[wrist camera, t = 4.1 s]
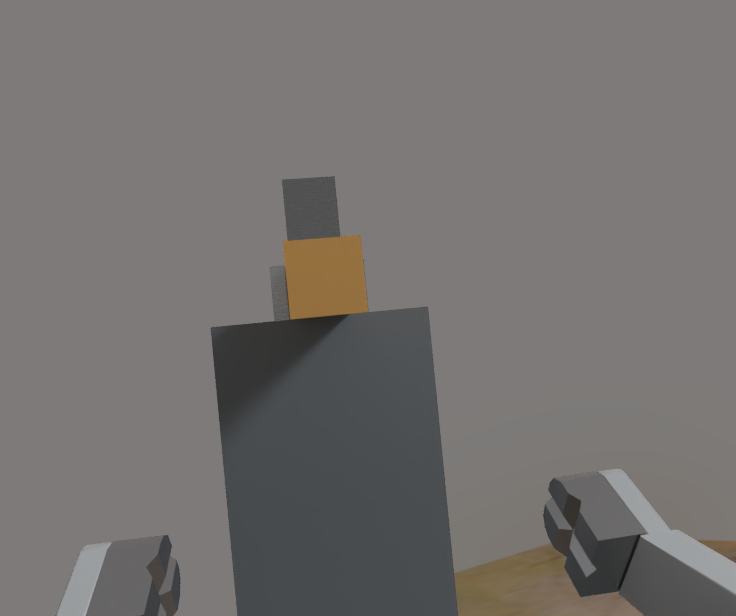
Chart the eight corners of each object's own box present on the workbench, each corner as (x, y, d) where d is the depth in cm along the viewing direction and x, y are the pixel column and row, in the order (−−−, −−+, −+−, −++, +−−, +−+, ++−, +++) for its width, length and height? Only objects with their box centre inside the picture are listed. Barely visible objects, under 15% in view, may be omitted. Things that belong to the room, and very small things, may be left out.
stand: (197, 826, 26) (147, 276, 27) (225, 698, 35) (187, 287, 36) (523, 756, 29) (473, 249, 29) (471, 652, 38) (433, 266, 38)
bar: (290, 319, 19) (270, 111, 19) (297, 319, 37) (287, 210, 37) (368, 311, 20) (348, 107, 20) (338, 315, 37) (328, 207, 37)
